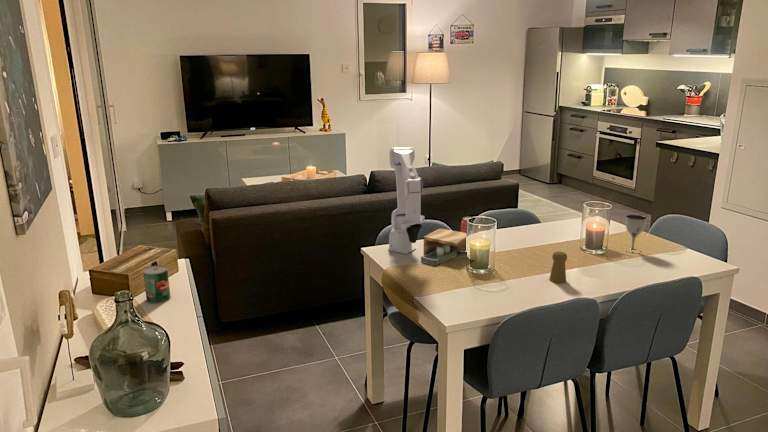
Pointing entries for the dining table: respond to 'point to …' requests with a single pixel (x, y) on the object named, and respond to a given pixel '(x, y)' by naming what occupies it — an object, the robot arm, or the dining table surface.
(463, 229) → the soda can
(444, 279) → the dining table surface
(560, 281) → the cork
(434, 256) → the tray
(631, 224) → the wine glass
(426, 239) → the wooden box
